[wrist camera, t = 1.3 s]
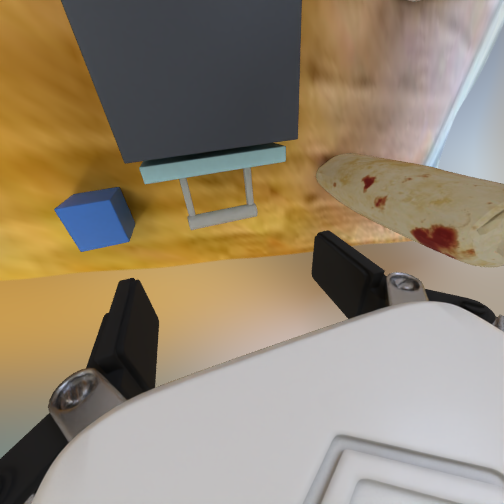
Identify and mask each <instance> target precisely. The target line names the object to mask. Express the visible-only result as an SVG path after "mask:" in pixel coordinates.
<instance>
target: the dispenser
mask: <svg viewBox="0 0 504 504" xmlns="http://www.w3.org/2000/svg"><path fill="white" fill-rule="evenodd" d="M61 2H62V4H63V7H64V10H65V12H66V15H67V17H68V20H69V22H70V25H71V27H72V30H73V33H74V35H75V38H76V40H77V43H78V45H79V48H80V50H81V53H82V56H83V58H84V61H85V63H86V66H87V68H88V71H89V73H90V76H91V78H92V81H93V84H94V86H95V89H96V91H97V94H98V96H99V99H100V101H101V104H102V107H103V109H104V112H105V114H106V117H107V119H108V122H109V124H110V127H111V130H112V132H113V135H114V137H115V140H116V142H117V145H118V147H119V150H120V153H121V155H122V158H123V160H124V163H132V162H139V161H147V160H154V159H161V158H168V157H175V156H182V155H189V154H196V153H203V152H210V151H217V150H224V149H231V148H238V147H246V146H253V145H260V144H267V143H274V142H281V141H288V140H295V139H298V114H299V79H300V43H301V8H302V0H61Z"/></svg>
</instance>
